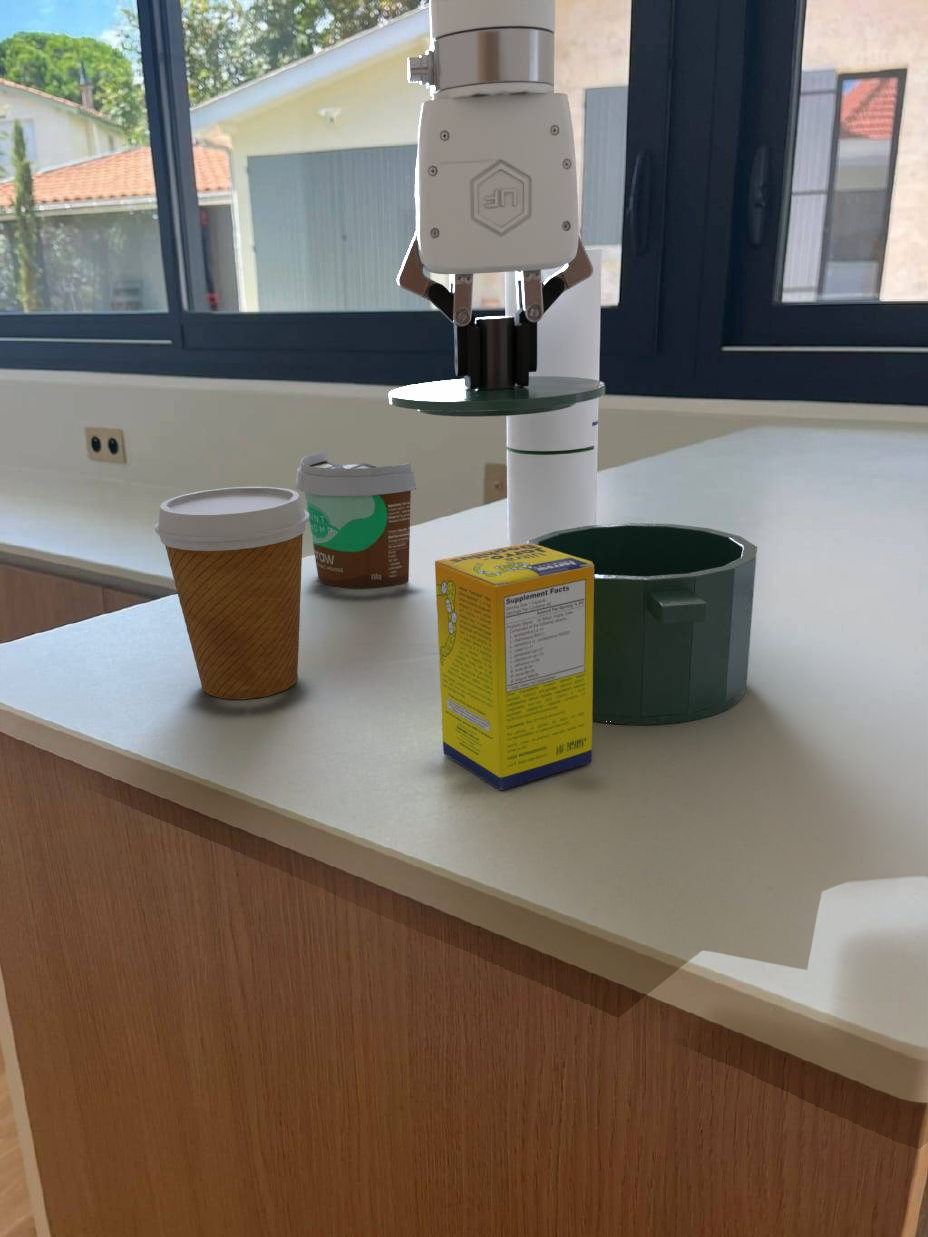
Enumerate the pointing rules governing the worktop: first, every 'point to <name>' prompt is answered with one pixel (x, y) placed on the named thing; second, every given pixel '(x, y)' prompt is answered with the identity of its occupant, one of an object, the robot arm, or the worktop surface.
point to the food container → (358, 521)
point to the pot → (665, 618)
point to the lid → (497, 383)
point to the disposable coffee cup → (238, 584)
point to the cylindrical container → (557, 418)
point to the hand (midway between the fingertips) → (495, 383)
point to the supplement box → (516, 661)
